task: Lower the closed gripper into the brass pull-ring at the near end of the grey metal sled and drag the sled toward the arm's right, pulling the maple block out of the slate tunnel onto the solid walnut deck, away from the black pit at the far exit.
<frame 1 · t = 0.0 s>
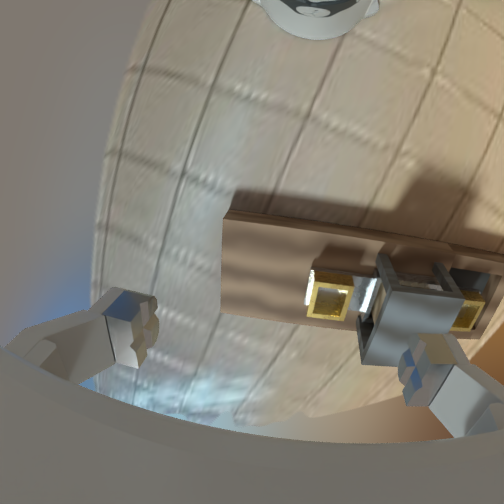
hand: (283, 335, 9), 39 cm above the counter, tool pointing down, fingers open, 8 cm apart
maple block: (398, 294, 47), point 4 cm above the counter, touching tunnel deck
sled: (402, 303, 45), point 6 cm above the counter, slide at 0.0 cm
tunnel deck: (393, 281, 51), on the counter
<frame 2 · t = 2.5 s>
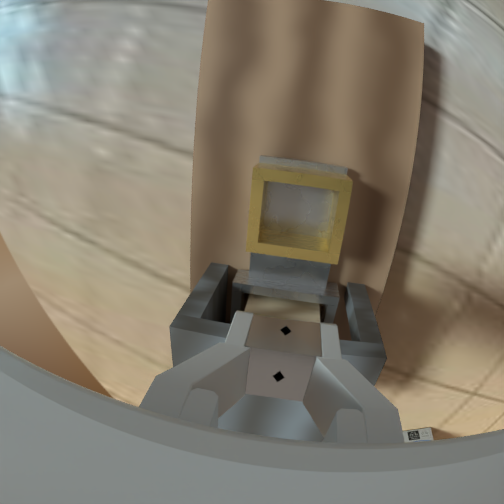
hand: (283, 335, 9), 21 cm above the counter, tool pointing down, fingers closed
maple block: (279, 327, 30), point 4 cm above the counter, touching tunnel deck
sled: (277, 343, 27), point 6 cm above the counter, slide at 0.0 cm
tunnel deck: (282, 306, 33), on the counter
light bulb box: (397, 439, 41), on the counter
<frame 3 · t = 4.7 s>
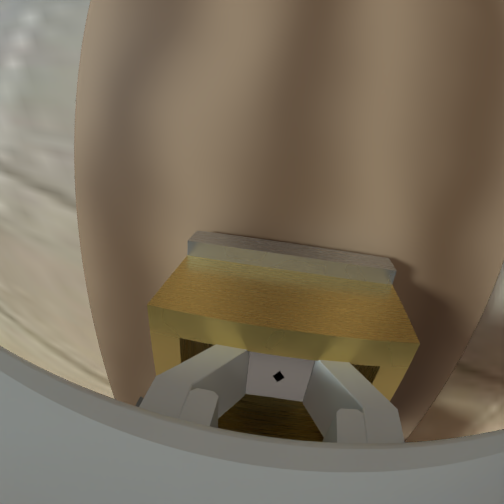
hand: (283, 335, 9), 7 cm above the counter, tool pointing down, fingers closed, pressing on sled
sled: (246, 494, 15), point 6 cm above the counter, slide at 0.7 cm, touching gripper
tunnel deck: (258, 426, 21), on the counter
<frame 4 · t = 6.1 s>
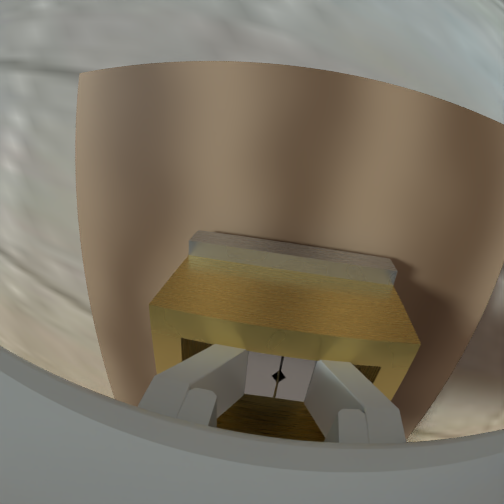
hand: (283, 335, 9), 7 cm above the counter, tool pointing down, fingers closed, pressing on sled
sled: (245, 493, 15), point 6 cm above the counter, slide at 8.2 cm, touching gripper
tunnel deck: (249, 466, 24), on the counter
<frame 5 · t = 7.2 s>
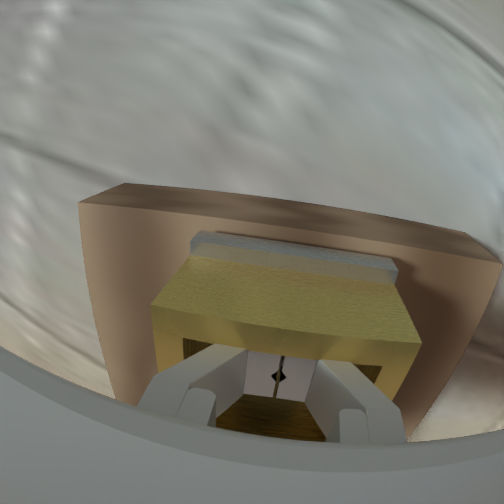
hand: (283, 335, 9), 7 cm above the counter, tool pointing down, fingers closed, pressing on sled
sled: (247, 493, 15), point 6 cm above the counter, slide at 13.7 cm, touching gripper
tunnel deck: (246, 485, 26), on the counter
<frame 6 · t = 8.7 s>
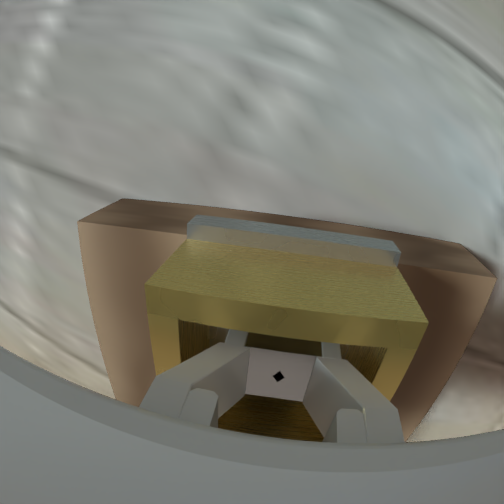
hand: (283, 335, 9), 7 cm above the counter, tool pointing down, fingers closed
sled: (248, 491, 15), point 6 cm above the counter, slide at 15.0 cm, touching maple block
tunnel deck: (247, 488, 26), on the counter
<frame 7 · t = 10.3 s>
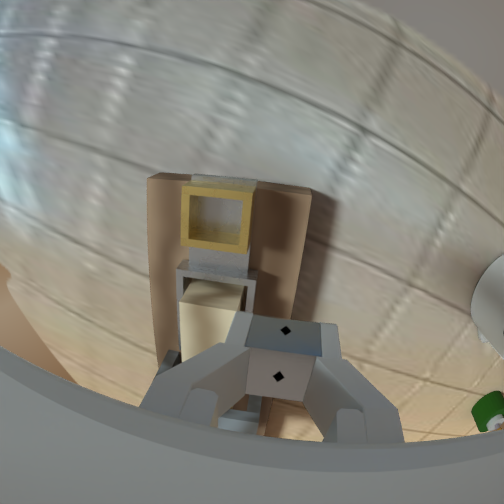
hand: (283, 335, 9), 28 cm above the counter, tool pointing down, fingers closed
maple block: (217, 310, 38), point 4 cm above the counter, touching sled, tunnel deck
sled: (213, 317, 36), point 6 cm above the counter, slide at 15.0 cm, touching maple block
tunnel deck: (220, 368, 47), on the counter
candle: (486, 402, 47), on the counter
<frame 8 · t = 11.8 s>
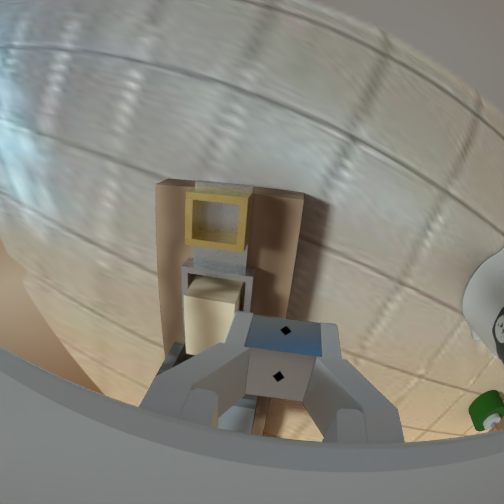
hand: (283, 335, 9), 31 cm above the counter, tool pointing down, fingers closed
maple block: (220, 304, 42), point 4 cm above the counter, touching sled, tunnel deck
sled: (215, 310, 39), point 6 cm above the counter, slide at 15.0 cm, touching maple block
tunnel deck: (223, 361, 51), on the counter
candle: (483, 401, 48), on the counter
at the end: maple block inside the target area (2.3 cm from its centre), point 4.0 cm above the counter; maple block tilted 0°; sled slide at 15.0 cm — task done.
